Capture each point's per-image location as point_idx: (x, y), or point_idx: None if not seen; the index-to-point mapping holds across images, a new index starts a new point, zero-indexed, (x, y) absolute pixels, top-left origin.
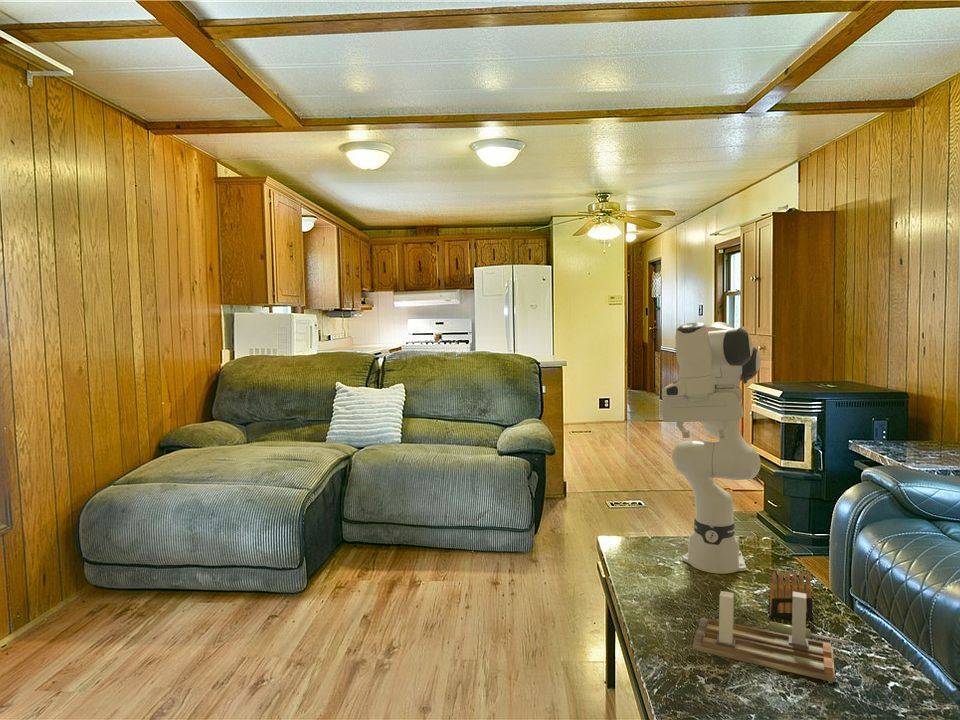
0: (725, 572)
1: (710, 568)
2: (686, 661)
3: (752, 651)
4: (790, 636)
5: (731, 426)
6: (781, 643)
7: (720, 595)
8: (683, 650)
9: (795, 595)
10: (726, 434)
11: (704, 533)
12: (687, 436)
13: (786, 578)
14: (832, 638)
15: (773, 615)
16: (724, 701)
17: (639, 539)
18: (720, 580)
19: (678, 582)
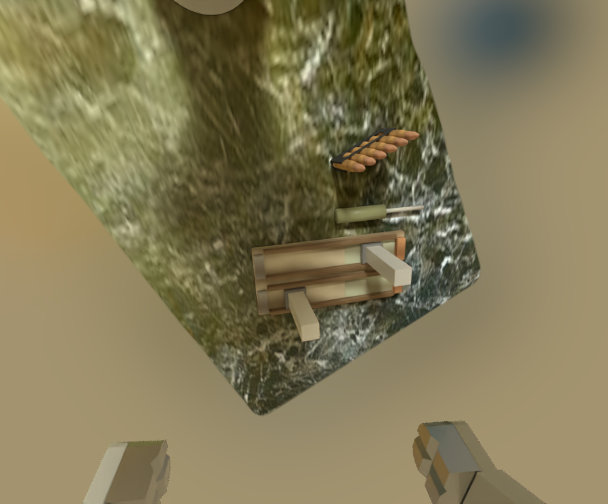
0: (239, 2)
1: (208, 8)
2: (258, 337)
3: (323, 290)
4: (364, 247)
5: None
6: (354, 265)
7: (303, 340)
8: (249, 318)
9: (397, 281)
10: (469, 439)
11: None
12: (163, 488)
13: (378, 158)
14: (407, 210)
15: (338, 168)
16: (307, 375)
17: None
18: (237, 47)
19: (167, 102)
